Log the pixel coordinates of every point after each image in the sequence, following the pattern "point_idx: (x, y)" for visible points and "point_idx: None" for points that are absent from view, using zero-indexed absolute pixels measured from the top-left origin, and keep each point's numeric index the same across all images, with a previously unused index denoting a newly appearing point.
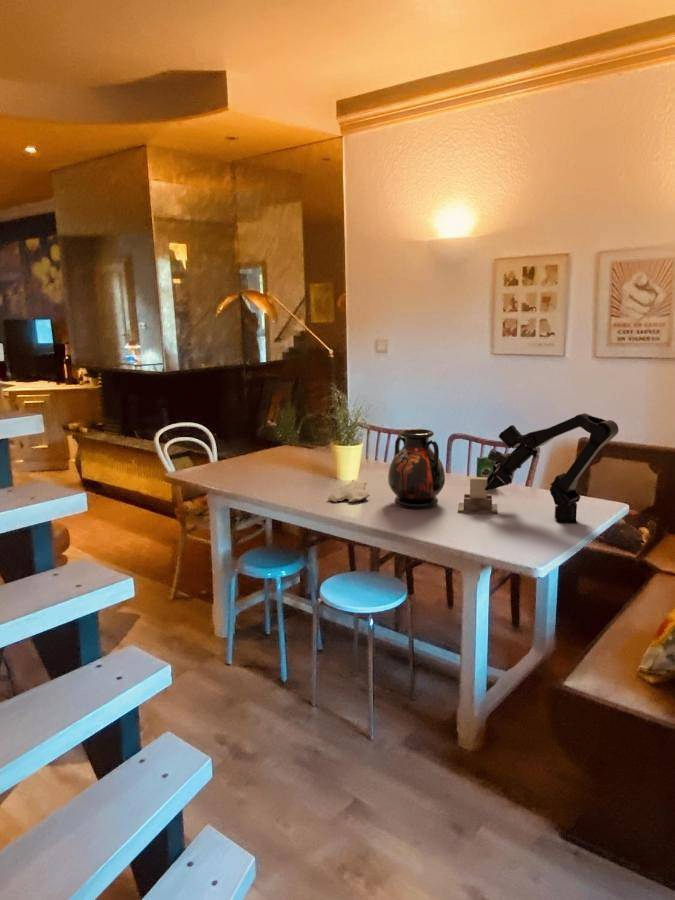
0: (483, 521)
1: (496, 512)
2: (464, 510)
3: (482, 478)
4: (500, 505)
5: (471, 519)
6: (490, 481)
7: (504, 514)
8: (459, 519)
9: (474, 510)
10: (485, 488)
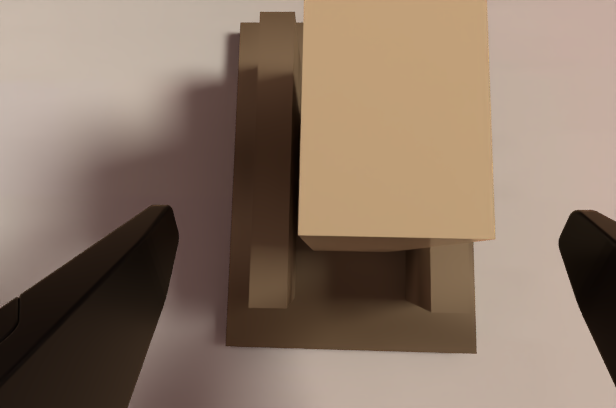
0: (29, 223)
1: (228, 336)
2: (239, 72)
3: (378, 133)
4: (502, 382)
5: (74, 134)
6: (42, 308)
7: (228, 403)
8: (69, 50)
9: (249, 151)
10: (142, 215)
